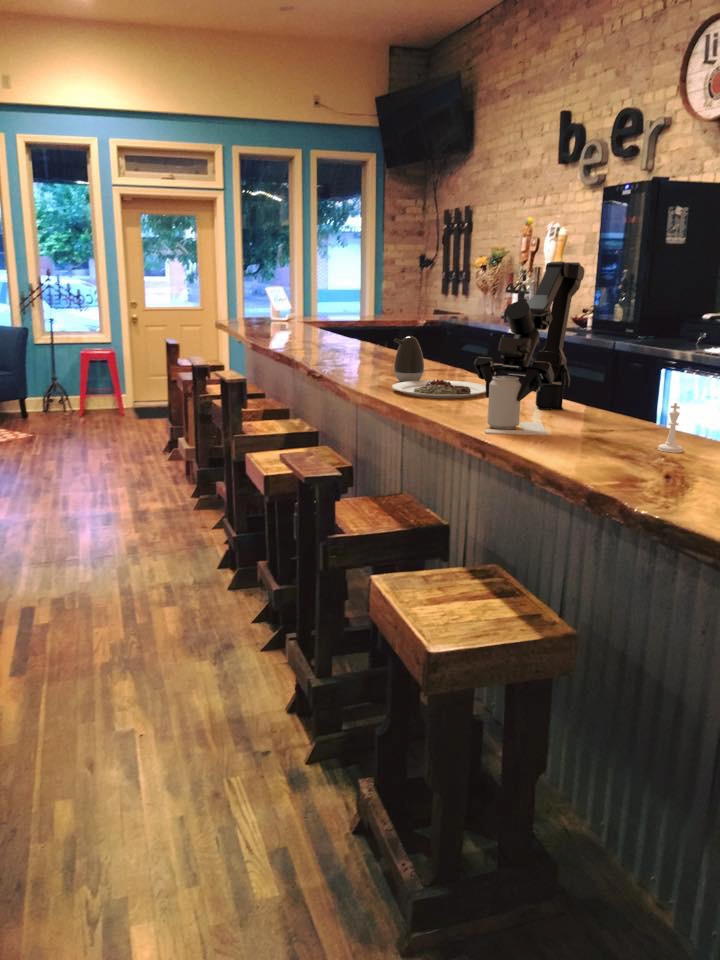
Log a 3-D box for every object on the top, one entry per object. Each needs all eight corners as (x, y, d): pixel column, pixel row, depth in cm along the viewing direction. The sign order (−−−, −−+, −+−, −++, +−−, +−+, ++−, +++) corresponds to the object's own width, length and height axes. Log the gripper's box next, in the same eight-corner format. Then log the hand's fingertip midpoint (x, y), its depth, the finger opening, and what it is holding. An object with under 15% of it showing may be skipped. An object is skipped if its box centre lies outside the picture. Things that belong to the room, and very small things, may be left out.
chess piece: (662, 446, 167) (667, 400, 164) (685, 450, 164) (691, 403, 161) (654, 450, 163) (659, 403, 160) (678, 453, 160) (684, 405, 157)
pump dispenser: (389, 379, 264) (390, 334, 260) (419, 379, 266) (420, 334, 262) (396, 384, 254) (397, 337, 250) (427, 383, 256) (428, 337, 252)
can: (509, 431, 180) (513, 379, 177) (481, 427, 184) (484, 376, 181) (524, 426, 186) (527, 376, 183) (496, 422, 190) (499, 373, 187)
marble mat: (540, 424, 190) (540, 422, 190) (547, 435, 176) (547, 434, 176) (482, 422, 191) (482, 420, 191) (485, 433, 178) (485, 432, 178)
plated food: (418, 403, 220) (418, 391, 219) (376, 388, 247) (376, 377, 246) (508, 398, 231) (509, 386, 230) (459, 384, 258) (459, 374, 257)
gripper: (478, 323, 187) (456, 373, 181) (553, 326, 177) (533, 380, 171) (489, 353, 195) (469, 402, 189) (562, 358, 186) (543, 410, 180)
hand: (502, 398), depth 182 cm, fingers closed on can, 7 cm apart
